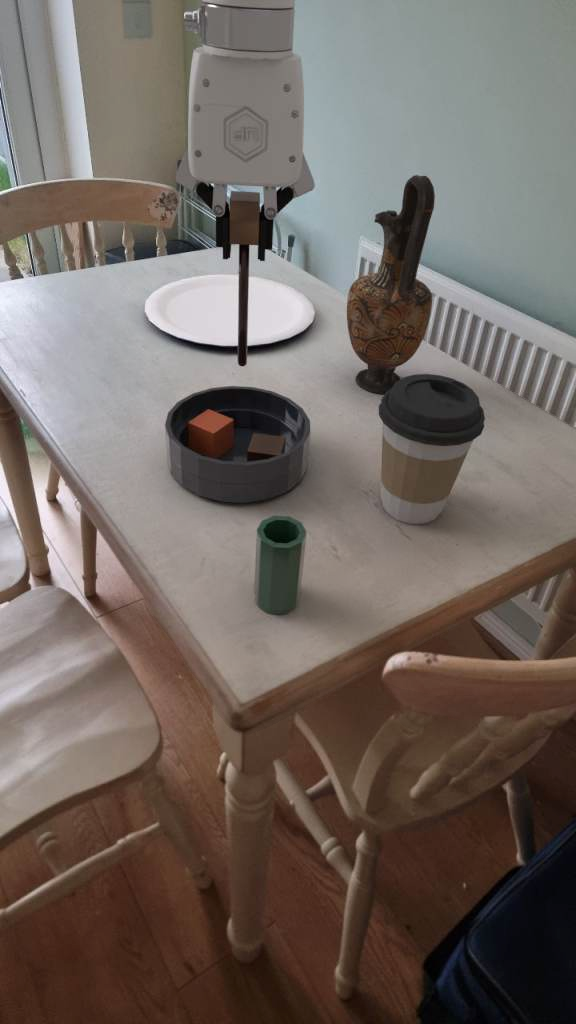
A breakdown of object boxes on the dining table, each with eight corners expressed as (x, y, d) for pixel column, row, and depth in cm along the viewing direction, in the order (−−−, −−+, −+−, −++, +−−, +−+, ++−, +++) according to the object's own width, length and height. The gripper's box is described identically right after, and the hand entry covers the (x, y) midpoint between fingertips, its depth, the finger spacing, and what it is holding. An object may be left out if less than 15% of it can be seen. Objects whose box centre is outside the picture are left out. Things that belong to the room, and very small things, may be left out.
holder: (248, 608, 68) (250, 540, 62) (263, 577, 72) (267, 510, 66) (290, 620, 67) (296, 553, 62) (304, 588, 71) (311, 521, 65)
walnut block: (246, 478, 83) (247, 451, 81) (252, 459, 86) (253, 432, 84) (279, 482, 83) (280, 455, 81) (284, 463, 86) (285, 436, 84)
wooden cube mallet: (229, 369, 75) (229, 200, 64) (230, 356, 78) (230, 190, 67) (254, 370, 76) (259, 202, 64) (255, 356, 78) (259, 192, 67)
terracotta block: (189, 449, 87) (188, 422, 85) (208, 435, 90) (208, 408, 87) (214, 460, 86) (213, 433, 83) (233, 446, 88) (233, 419, 86)
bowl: (143, 485, 82) (139, 443, 78) (202, 414, 95) (201, 375, 91) (281, 521, 79) (284, 479, 75) (322, 442, 91) (326, 403, 88)
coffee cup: (478, 513, 82) (512, 403, 72) (412, 550, 76) (440, 436, 67) (409, 466, 88) (431, 359, 79) (343, 497, 83) (359, 386, 73)
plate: (184, 368, 104) (183, 358, 103) (121, 295, 124) (120, 286, 122) (346, 336, 116) (347, 326, 115) (266, 274, 135) (266, 265, 134)
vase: (400, 362, 110) (437, 156, 91) (429, 403, 101) (477, 182, 82) (329, 366, 108) (352, 155, 89) (352, 408, 99) (383, 182, 79)
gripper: (142, 30, 54) (157, 265, 66) (350, 44, 55) (328, 273, 67) (154, 21, 60) (165, 238, 71) (341, 33, 61) (322, 246, 72)
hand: (244, 253), depth 69 cm, fingers closed on wooden cube mallet, 2 cm apart
